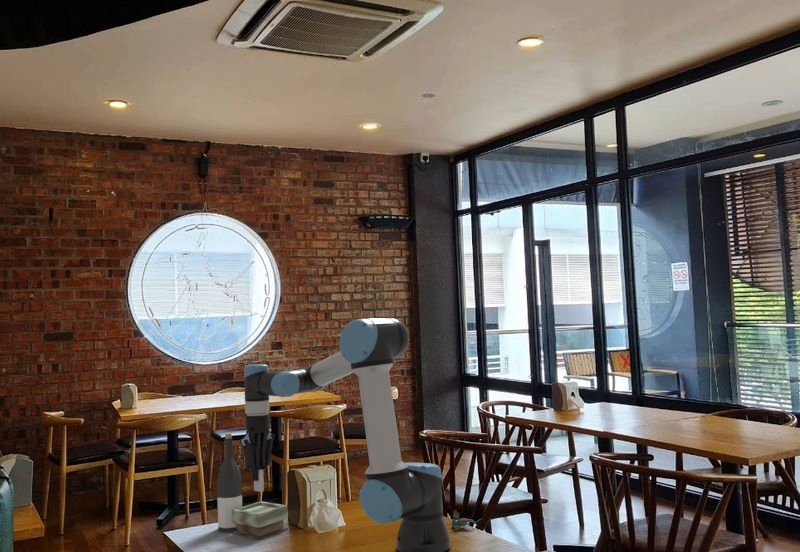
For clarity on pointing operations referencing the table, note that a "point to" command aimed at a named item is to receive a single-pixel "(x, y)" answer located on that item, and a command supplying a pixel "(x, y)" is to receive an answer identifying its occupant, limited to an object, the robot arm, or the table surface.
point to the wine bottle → (228, 489)
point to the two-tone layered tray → (260, 520)
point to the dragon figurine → (460, 521)
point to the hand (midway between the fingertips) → (258, 490)
